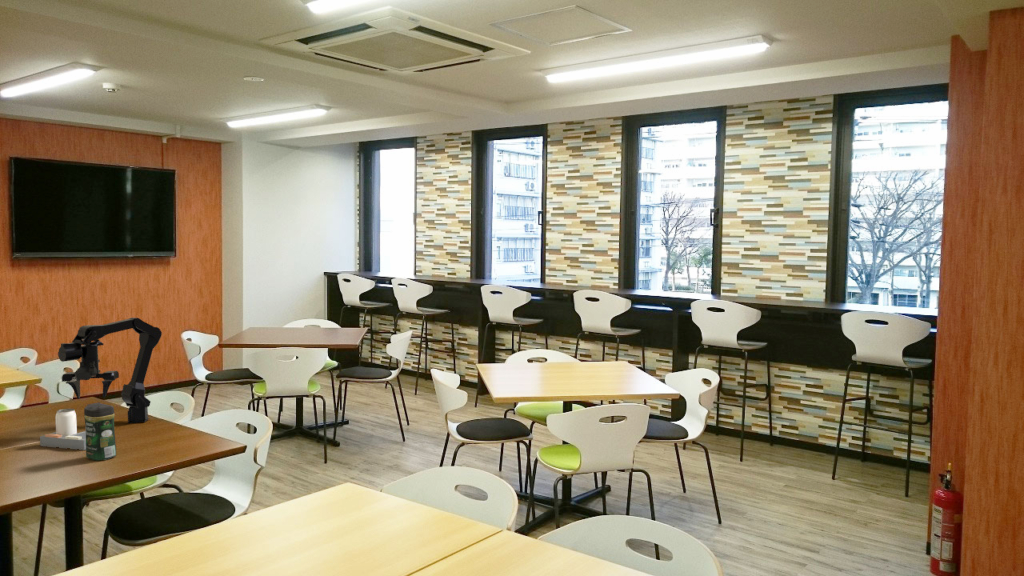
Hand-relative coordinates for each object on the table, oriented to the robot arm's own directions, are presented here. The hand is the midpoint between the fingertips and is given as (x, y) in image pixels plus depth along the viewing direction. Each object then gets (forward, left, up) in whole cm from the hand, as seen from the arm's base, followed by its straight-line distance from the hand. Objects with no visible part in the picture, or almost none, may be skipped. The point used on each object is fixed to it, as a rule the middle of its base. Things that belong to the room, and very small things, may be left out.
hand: (91, 398), depth 287 cm
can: (+3, +16, -13) cm, 21 cm away
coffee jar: (-18, +39, -13) cm, 45 cm away
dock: (-1, +19, -13) cm, 23 cm away
